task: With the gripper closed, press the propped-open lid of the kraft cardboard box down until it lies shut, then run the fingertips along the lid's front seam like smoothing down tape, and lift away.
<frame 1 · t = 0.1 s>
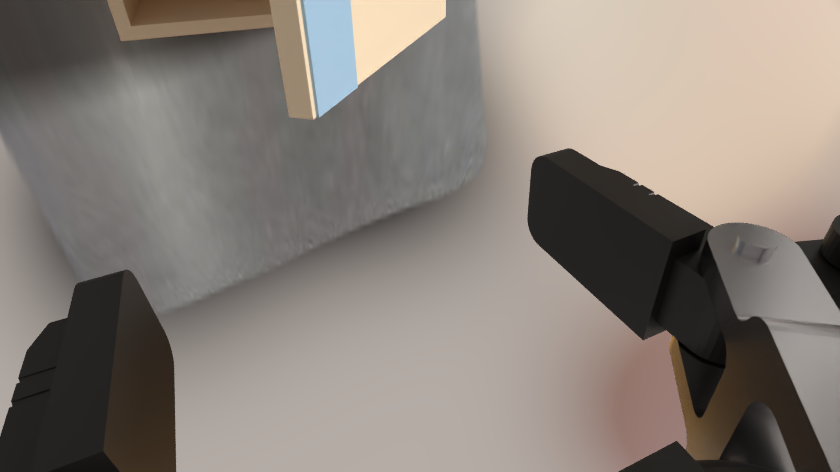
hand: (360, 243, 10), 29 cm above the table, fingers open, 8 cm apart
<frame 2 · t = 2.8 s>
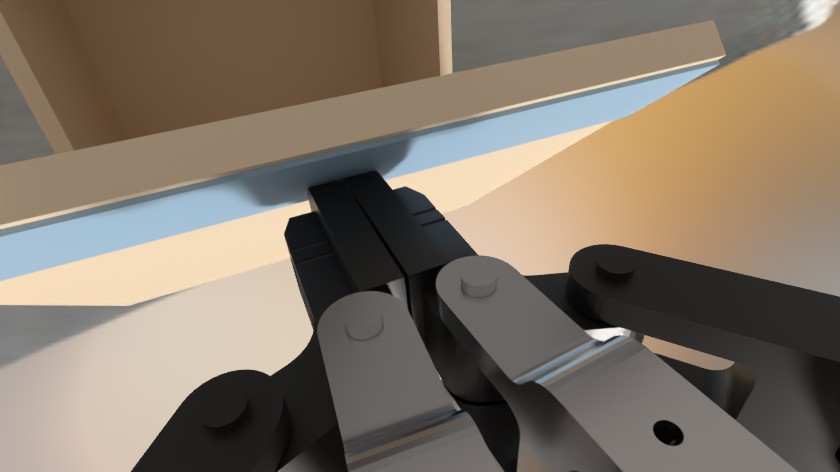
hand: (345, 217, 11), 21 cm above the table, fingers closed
cardboard box: (240, 27, 26), on the table
box lid: (320, 213, 16), point 16 cm above the table, hinge at 48.8°, touching gripper
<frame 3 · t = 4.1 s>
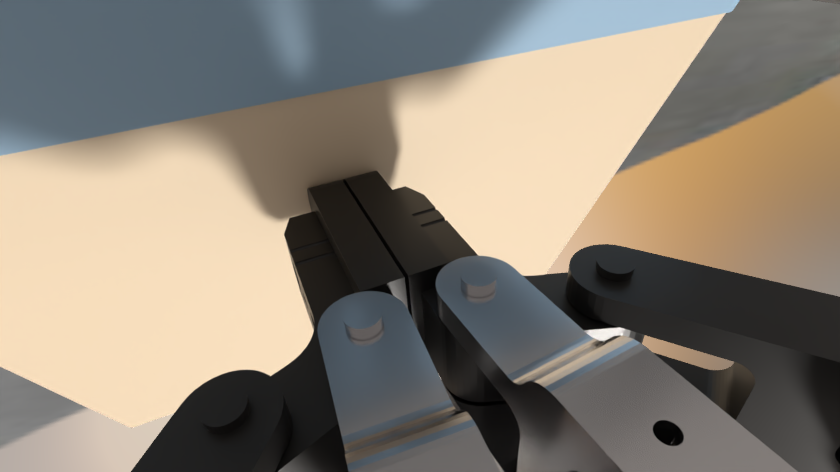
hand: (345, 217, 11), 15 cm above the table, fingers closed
box lid: (353, 227, 12), point 14 cm above the table, hinge at 24.4°, touching gripper
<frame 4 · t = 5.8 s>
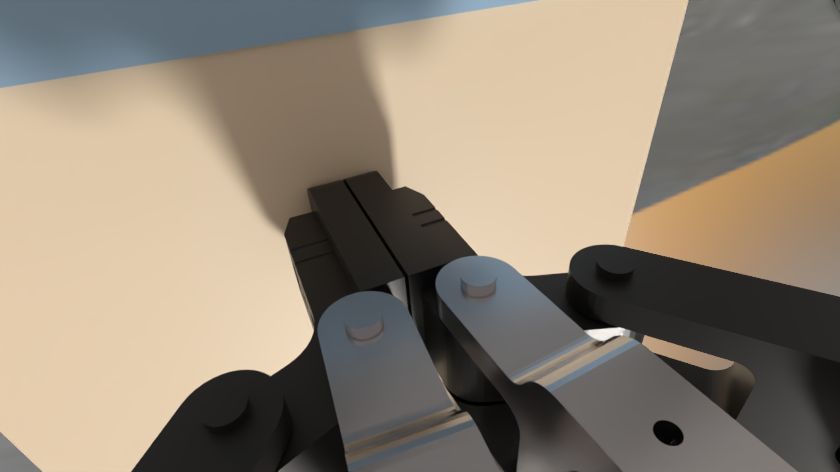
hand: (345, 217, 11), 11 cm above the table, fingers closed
box lid: (361, 244, 12), point 11 cm above the table, hinge at 1.9°, touching gripper
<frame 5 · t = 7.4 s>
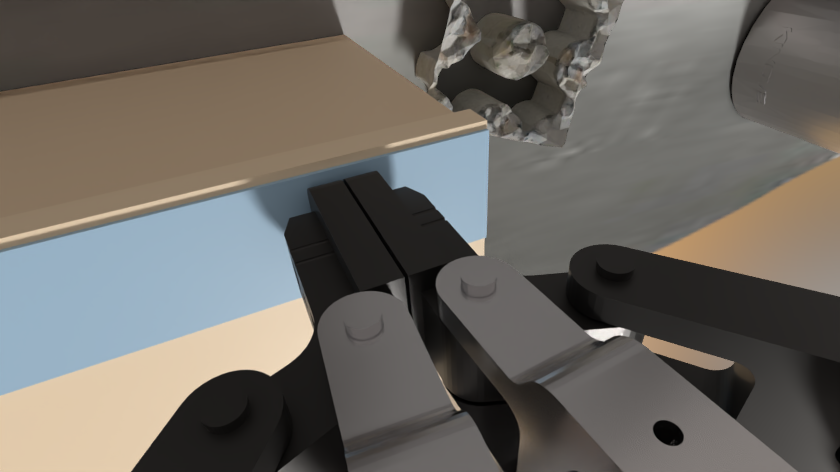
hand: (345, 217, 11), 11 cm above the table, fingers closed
cardboard box: (196, 255, 21), on the table
box lid: (217, 454, 13), point 10 cm above the table, hinge at -0.1°, touching cardboard box
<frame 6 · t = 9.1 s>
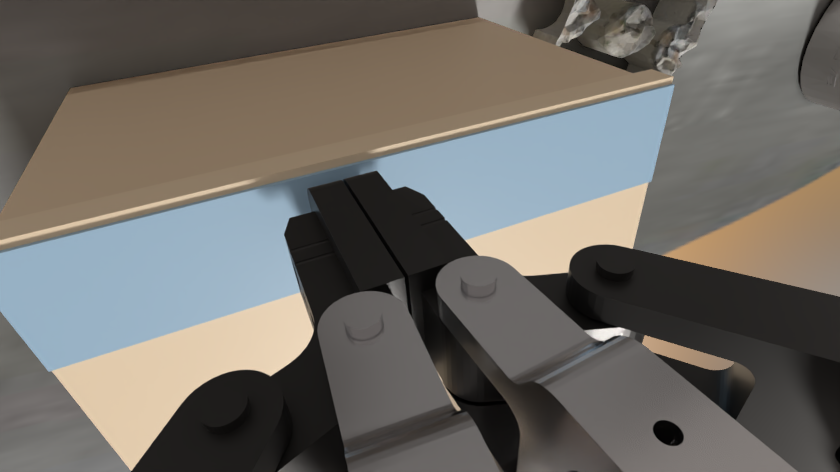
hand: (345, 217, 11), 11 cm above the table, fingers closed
cardboard box: (333, 217, 24), on the table
box lid: (412, 368, 16), point 10 cm above the table, hinge at -0.1°, touching cardboard box
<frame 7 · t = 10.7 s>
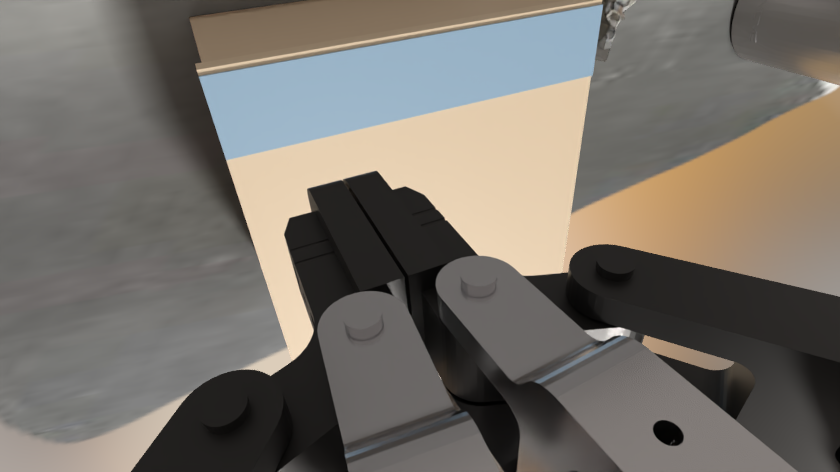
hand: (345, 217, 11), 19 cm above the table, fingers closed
cardboard box: (363, 132, 31), on the table
box lid: (432, 207, 23), point 10 cm above the table, hinge at -0.1°, touching cardboard box
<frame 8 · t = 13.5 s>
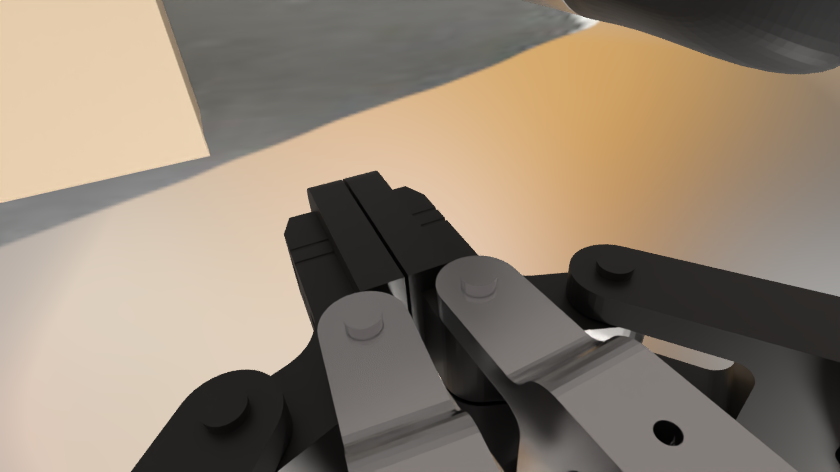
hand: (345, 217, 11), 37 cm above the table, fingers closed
cardboard box: (49, 26, 36), on the table
box lid: (16, 59, 28), point 10 cm above the table, hinge at -0.1°, touching cardboard box
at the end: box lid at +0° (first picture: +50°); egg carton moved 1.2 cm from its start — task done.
